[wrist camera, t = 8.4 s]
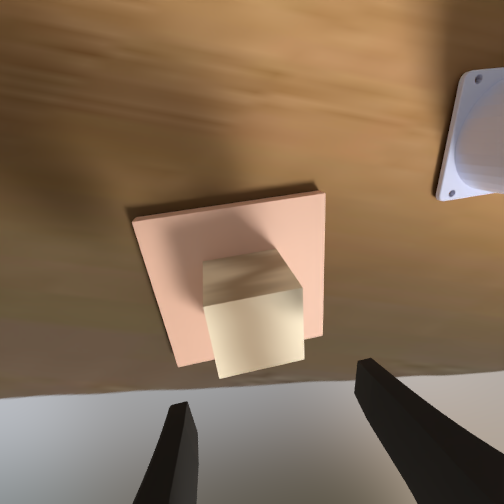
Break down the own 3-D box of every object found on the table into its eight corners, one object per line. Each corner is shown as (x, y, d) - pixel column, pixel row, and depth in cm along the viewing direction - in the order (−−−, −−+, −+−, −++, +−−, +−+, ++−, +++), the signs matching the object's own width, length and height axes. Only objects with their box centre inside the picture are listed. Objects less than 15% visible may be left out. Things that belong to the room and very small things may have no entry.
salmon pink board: (319, 190, 17) (325, 193, 16) (317, 327, 22) (322, 335, 21) (135, 217, 16) (131, 222, 15) (179, 357, 21) (178, 367, 20)
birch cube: (276, 248, 17) (302, 287, 13) (280, 308, 19) (304, 359, 15) (202, 261, 17) (202, 307, 12) (215, 321, 19) (219, 378, 14)
